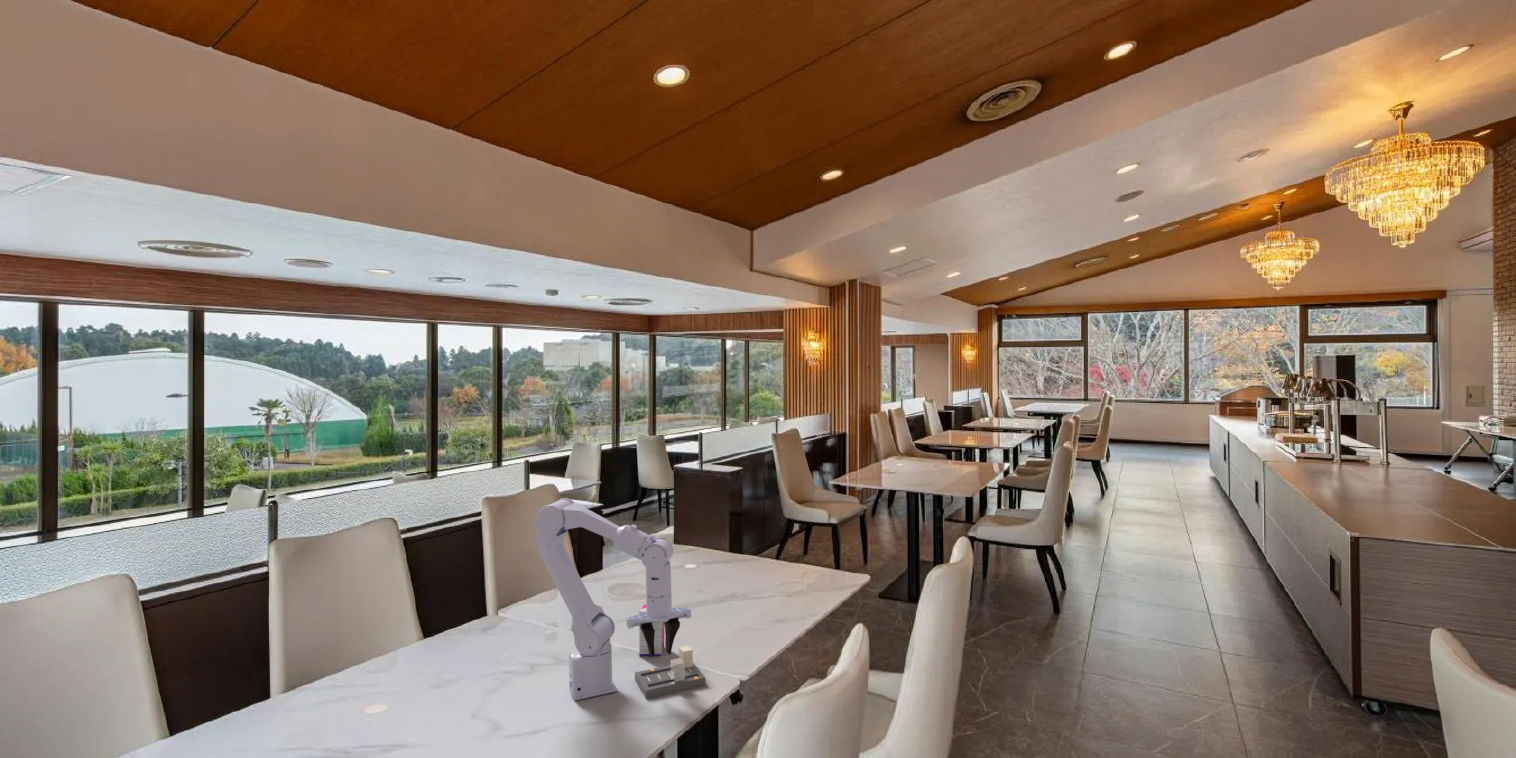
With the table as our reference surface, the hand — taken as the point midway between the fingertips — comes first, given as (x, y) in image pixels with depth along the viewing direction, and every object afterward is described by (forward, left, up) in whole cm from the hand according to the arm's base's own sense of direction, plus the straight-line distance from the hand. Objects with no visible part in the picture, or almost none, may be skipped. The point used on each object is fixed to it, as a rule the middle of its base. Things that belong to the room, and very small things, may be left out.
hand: (660, 653), depth 148 cm
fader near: (+4, 0, -7) cm, 8 cm away
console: (+3, +3, -8) cm, 9 cm away
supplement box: (+4, +22, -9) cm, 24 cm away
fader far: (+8, +6, -7) cm, 12 cm away
